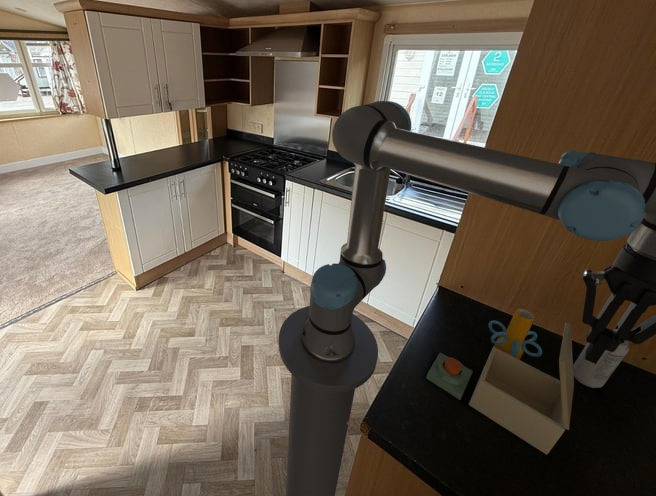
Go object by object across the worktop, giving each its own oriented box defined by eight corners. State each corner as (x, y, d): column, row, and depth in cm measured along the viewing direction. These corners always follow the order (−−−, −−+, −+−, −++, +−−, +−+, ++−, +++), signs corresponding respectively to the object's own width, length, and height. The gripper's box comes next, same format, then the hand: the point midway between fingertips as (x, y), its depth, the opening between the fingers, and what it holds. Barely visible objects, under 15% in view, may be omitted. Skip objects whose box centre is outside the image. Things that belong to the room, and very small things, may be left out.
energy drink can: (586, 368, 82) (614, 326, 75) (608, 390, 76) (640, 347, 70) (563, 367, 82) (589, 326, 75) (584, 390, 76) (613, 347, 70)
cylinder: (496, 373, 80) (517, 331, 74) (472, 339, 90) (488, 300, 83) (542, 371, 81) (567, 329, 74) (513, 338, 90) (532, 299, 83)
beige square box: (468, 404, 73) (479, 380, 69) (482, 370, 81) (493, 346, 77) (547, 455, 64) (565, 430, 60) (554, 410, 72) (570, 386, 68)
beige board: (558, 360, 57) (564, 361, 56) (565, 322, 65) (570, 323, 64) (563, 428, 60) (568, 430, 59) (569, 384, 68) (574, 385, 68)
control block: (425, 378, 79) (428, 369, 77) (438, 356, 85) (441, 347, 83) (460, 400, 74) (464, 391, 72) (471, 375, 80) (475, 366, 78)
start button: (441, 368, 78) (443, 364, 77) (446, 359, 80) (448, 355, 80) (457, 378, 76) (459, 373, 75) (461, 368, 78) (463, 364, 77)
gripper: (722, 260, 47) (639, 366, 57) (602, 229, 55) (549, 327, 65) (734, 284, 42) (642, 394, 52) (601, 246, 50) (544, 348, 60)
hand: (590, 357), depth 59 cm, fingers closed
